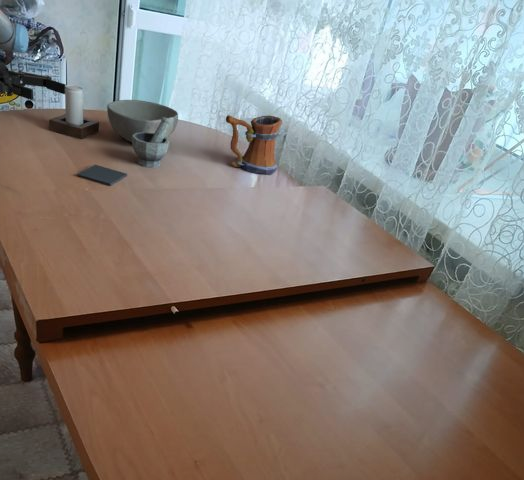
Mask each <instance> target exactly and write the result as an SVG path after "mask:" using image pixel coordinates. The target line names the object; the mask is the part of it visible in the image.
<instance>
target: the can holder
mask: <svg viewBox="0 0 524 480" xmlns="http://www.w3.org/2000/svg"><path fill="white" fill-rule="evenodd" d="M48 131H50V132H53V133H58V134H61V135H65V136H67V137H72V138H75V139H78V140H83V139H86V138H89V137H90V136H94V135H96V134H97V133H100V121H98V120H94V119H91V118H87V117H84V116H83V124H82V125H79V126H78V125H75V124H71V123H68V122H66V113H64V114H62V115H58V116H55V117H52V118H50V119H48Z"/></svg>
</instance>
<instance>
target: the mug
mask: <svg viewBox="0 0 524 480" xmlns="http://www.w3.org/2000/svg"><path fill="white" fill-rule="evenodd" d="M225 122H226V123H227V124H230V125H231V128H232V135H231V136H232V137H231V139H230V150H231V151H232V153H233V154H235V155H236V157H237V160H235V161H232V162H231V163H230V164H231V165H232V167H233V168H241V169H243V170H244V171H246V172H249V173H251V174H252V173H253V174H257V175H274V173H276V172H277V169H278V165H277V163H276V157H275V155H276V154H275V150H276V149H275V148H276V140H277V137H278V135H279V130H280V128H281V125H282V124H283V120H282V119H281V117H279V116H275V115H260V116H257V117H254V118H253V119H251V121H250V123H248V122H247V121H245V120H243V119H240V118H236V117H234V116H231V115H229V114H228V115H226V117H225ZM237 126H242V127H245V129H246V131H245V132H244V134H245V139H246V141H247V142H248V143H249V144H248V148H247V149H246V151H245V153H244V154H243V155H242V154H241V152H240V151H239V149H238V148H237V146H238V142H239V130H238V127H237Z"/></svg>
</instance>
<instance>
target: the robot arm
mask: <svg viewBox="0 0 524 480" xmlns="http://www.w3.org/2000/svg"><path fill="white" fill-rule="evenodd" d="M28 48H29V33H28V29H27V27H26V26H25V25H24V24H20V23H18V22H13V21H11V20H10V19H9V18H8V17H7V15H6V14H5V13H4V12H3V11H2V10H1V9H0V50H2V51H8V52H11V53H12V52H13V53H20V54H24V53H26V52H27V50H28ZM27 86H33V87H40V88H41V87H42V88H46V89H47V90H49V91H52V92H56V93H59V94H61V95H65V88H66V86H67V85H66V83H63V82H60V81H57V80H53V77H51V76H50V75H42V74H36V73H31V72H26V71H22V70H18V71H16V70H10V69H9V68H8V66H7V65H6V63H4V62H2V61H0V94H3V95H4V94H6V95H7V96H8V97H13V95H15V96H18V97H21V98H24V99H27V100H31V101H34V89H33V88H30V87H27Z"/></svg>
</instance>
